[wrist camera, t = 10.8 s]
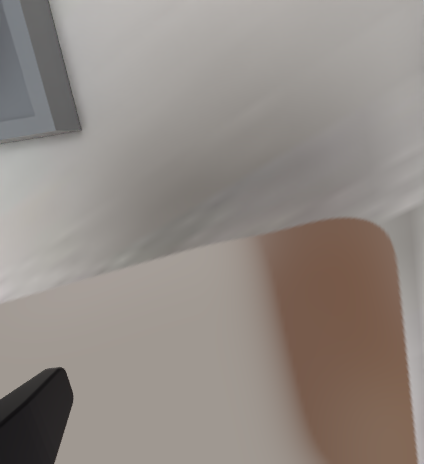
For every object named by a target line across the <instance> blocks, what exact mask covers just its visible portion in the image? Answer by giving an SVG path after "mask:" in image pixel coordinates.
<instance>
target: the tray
mask: <svg viewBox="0 0 424 464" xmlns="http://www.w3.org/2000/svg"><path fill="white" fill-rule="evenodd" d="M80 130H81V127H80V123H79V119H78V115H77V112H76V108H75V104H74V100H73V96H72V92H71V88H70V84H69V80H68V76H67V73H66V69H65V65H64V61H63V57H62V53H61V49H60V45H59V41H58V38H57V34H56V30H55V26H54V22H53V18H52V14H51V10H50V6H49V2H48V0H0V144H2V143H8V142H14V141H20V140H26V139H32V138H38V137H44V136H50V135H56V134H62V133H68V132H74V131H80Z"/></svg>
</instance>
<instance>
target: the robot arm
mask: <svg viewBox="0 0 424 464" xmlns="http://www.w3.org/2000/svg"><path fill="white" fill-rule="evenodd" d="M72 403H73V392H72V389H71V386H70V383H69V380H68V377H67V374H66V371H65V370H64V369H63V368H62V367H58V368H49V369H45V370H44V371H42V372H41V373H39V374H38V375H36V376H35V377H33V378H32V379H30V380H29V381H27V382H26V383H24V384H23V385H21V386H20V387H18V388H17V389H15V390H14V391H12V392H11V393H9V394H8V395H6V396H5V397H3V398H2V399H0V464H54V462H55V459H56V456H57V453H58V449H59V446H60V443H61V440H62V437H63V433H64V430H65V427H66V424H67V420H68V417H69V413H70V410H71V407H72Z"/></svg>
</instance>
